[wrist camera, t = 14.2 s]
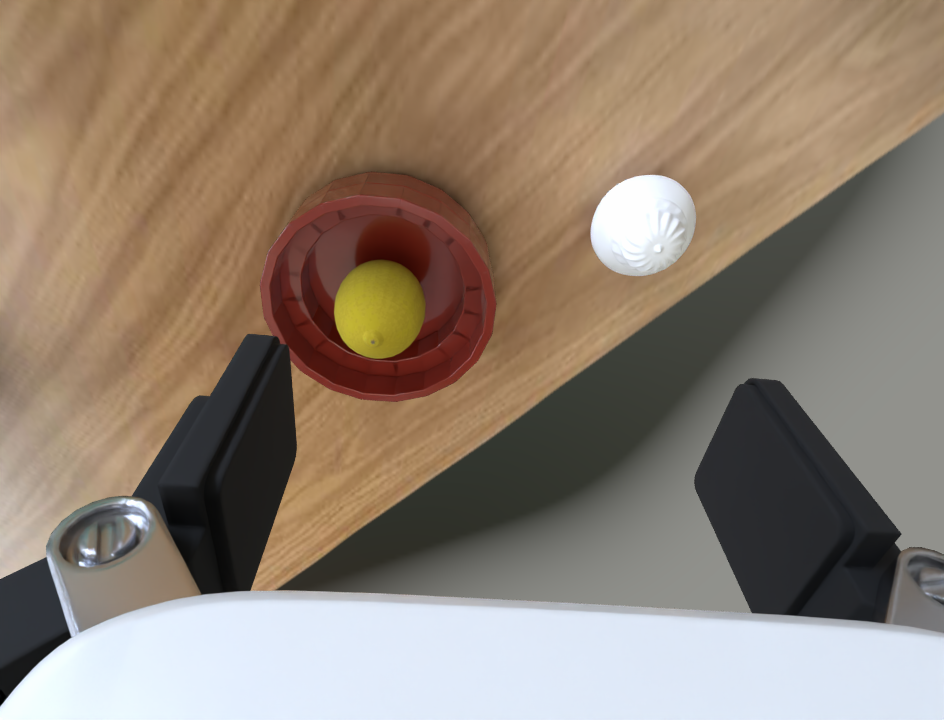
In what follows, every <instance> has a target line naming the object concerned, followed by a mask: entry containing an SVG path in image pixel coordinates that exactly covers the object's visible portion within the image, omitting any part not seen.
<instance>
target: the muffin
mask: <svg viewBox="0 0 944 720" xmlns="http://www.w3.org/2000/svg"><path fill="white" fill-rule="evenodd" d="M695 224H696V211H695V206H694V203H693V200H692V198H691V196H690V195H689V193H688V192H687V191H686V189H685V188H684V187H682V185H680V184H679V183H678V182H676V181H674V180H672V179H670V178H668V177H664V176H659V175H643V176H638V177H636V176H635V177H633V178H631V179H628V180H627V179H625V181H624V182H622V183H620V184H617V185H616V186H615V187H614V188H612V189H611V190H610V191H608V192H607V194H606V195H605V197H604V198H602V199H601V202H600V204H599V206H597V209H596V211H595V214H594V217H593V220H592V225H591V242H592V246H593V249H594V251H595V253H596V255H597V257H598V258H599V259H600V261H601V262H602V263H603V264H604V265H605V266H607V267H608V268H609V269H611V270H613V271H615V272H617V273H620V274H624V275H629V276H645V275H651V274H654V273H657V272H659V271H662V270H664V269H666V268H667V267H669V266H670V265H672V264H673V263H675V262H676V261H677V260H678V259H679V258H680V257H681V255H682V254H683V253H684V252H685V251H686V249H687V248H688V246H689V244H690V242H691V240H692V237H693V234H694V230H695Z"/></svg>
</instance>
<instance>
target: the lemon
mask: <svg viewBox="0 0 944 720" xmlns="http://www.w3.org/2000/svg"><path fill="white" fill-rule="evenodd" d="M425 304H426V303H425V298H424V293H423V289H422V287H421V285H420V283H419V281H418V280H417V278H416V277H415V276H414V275H413V274H412V272H411V271H410V270H409V269H407V268H406V267H404V266H403V265H401V264H399V263H396V262H393V261H389V260H372V261H369V262H366V263H363V264H361V265H359V266H358V267H356V268H355V269H353V270H352V271H351V272H350V273H349V274H348V275H347V276H346V278H345V279H344V280H343V281H342V283H341V285H340V287H339V290H338V292H337V295H336V298H335V308H334V316H335V322H336V326H337V330H338V332H339V334H340V336H341V338H342V340H343V341H344V342H345V343H346V344H347V346H348V347H349V348H351V349H352V350H354V351H355V352H356V353H358V354H360V355H363V356H365V357H369V358H374V359H383V358H388V357H392V356H395V355H397V354H399V353H401V352H402V351H404V350H405V349H406V348H407V347H409V346H410V345H411V344H412V342H413V341H414V340H415V338H416V337H417V335H418V334H419V332H420V330H421V327H422V324H423V321H424V318H425Z"/></svg>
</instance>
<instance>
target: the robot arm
mask: <svg viewBox="0 0 944 720" xmlns="http://www.w3.org/2000/svg"><path fill="white" fill-rule="evenodd" d="M296 450H297V441H296V428H295V415H294V402H293V389H292V376H291V363H290V351H289V346H288V345H287V344H280V340H279V338H278V337H277V336H268V335H256V334H247V335H246V337H245V338H244V340H243V342H242V343H241V345H240V347H239V348H238V350H237V352H236V353H235V355H234V357H233V358H232V360H231V362H230V363H229V365H228V367H227V368H226V370H225V372H224V373H223V375H222V377H221V378H220V380H219V382H218V383H217V385H216V387H215V388H214V390H213V392H212V393H211V395H210V396H200V395H199V396H197V397H195V398H194V399H193V401H192V402H191V403H190V405H189V406H188V408H187V409H186V411H185V413H184V414H183V416H182V417H181V419H180V420H179V422H178V424H177V425H176V427H175V428H174V430H173V432H172V433H171V435H170V436H169V438H168V439H167V441H166V443H165V444H164V446H163V447H162V449H161V451H160V452H159V454H158V455H157V457H156V458H155V460H154V462H153V463H152V465H151V466H150V468H149V470H148V471H147V473H146V474H145V476H144V477H143V479H142V481H141V482H140V484H139V485H138V487H137V489H136V490H135V492H134V493H133V495H132V496H118V497H109V498H105V499H102V500H98V501H95V502H92V503H90V504H88V505H86V506H84V507H82V508H80V509H78V510H76V511H74V512H73V513H72V514H70V515H69V516H68V517H66V518H65V519H64V520H62V521H61V523H60V524H59V525H58V526H57V527H56V529H55V530H54V531H53V532H52V533H51V536H50V538H49V541H48V543H47V545H46V555H47V557H46V558H44V559H42V560H39V561H37V562H35V563H33V564H31V565H29V566H27V567H25V568H23V569H21V570H19V571H16V572H14V573H12V574H10V575H8V576H6V577H4V578H2V579H0V720H944V554H942V553H939V552H937V551H934V550H930V549H926V548H922V547H909V548H907V549H905V550H903V551H900V550H899V548H898V547H897V546H896V544H895V541H896V540H897V539H898V538H899V537H900V535H901V533H900V531H898V529H897V528H896V526H895V525H894V524H893V523H892V521H891V520H890V519H889V518H888V516H887V515H886V514H885V513H884V511H883V510H882V509H881V507H880V506H879V505H878V504H877V502H876V501H875V500H874V499H873V497H872V496H871V495H870V494H869V492H868V491H867V490H866V488H865V487H864V486H863V485H862V484H861V482H860V481H859V480H858V478H857V477H856V476H855V475H854V473H853V472H852V471H851V470H850V468H849V467H848V466H847V464H846V463H845V462H844V461H843V459H842V458H841V457H840V456H839V454H838V453H837V452H836V451H835V449H834V448H833V447H832V446H831V444H830V443H829V442H828V440H827V439H826V438H825V437H824V435H823V434H822V433H821V432H820V430H819V429H818V428H817V426H816V425H815V424H814V423H813V421H812V420H811V419H810V418H809V416H808V415H807V414H806V413H805V411H804V410H803V409H802V408H801V406H800V405H799V404H798V403H797V401H796V400H795V399H794V398H793V396H792V395H791V394H790V392H789V391H788V390H787V389H786V387H785V386H784V385H783V384H782V383H781V382H780V381H777V380H767V379H756V378H751V379H748V380H747V381H746V382H745V383H744V384H740V385H739V386H738V387H737V388H736V389H735V391H734V393H733V396H732V398H731V400H730V402H729V404H728V406H727V408H726V410H725V412H724V415H723V417H722V419H721V421H720V423H719V425H718V427H717V429H716V432H715V434H714V436H713V438H712V440H711V442H710V444H709V446H708V448H707V451H706V453H705V455H704V457H703V459H702V461H701V463H700V465H699V467H698V470H697V472H696V475H695V480H694V481H695V482H694V484H695V489H696V492H697V494H698V496H699V498H700V501H701V503H702V505H703V507H704V509H705V511H706V513H707V516H708V518H709V520H710V522H711V524H712V527H713V529H714V531H715V533H716V535H717V538H718V540H719V542H720V544H721V546H722V549H723V551H724V553H725V555H726V557H727V560H728V562H729V564H730V566H731V568H732V570H733V572H734V575H735V577H736V579H737V581H738V584H739V586H740V588H741V590H742V592H743V594H744V596H745V599H746V601H747V603H748V605H749V608H750V609H751V612H752V613H739V612H723V611H705V610H689V609H672V608H654V607H636V606H618V605H600V604H581V603H562V602H542V601H524V600H505V599H484V598H483V599H482V598H463V597H461V598H460V597H441V596H421V595H400V594H380V593H350V592H349V593H347V592H317V591H250V590H251V587H252V585H253V582H254V579H255V576H256V573H257V570H258V567H259V564H260V561H261V558H262V555H263V552H264V549H265V546H266V544H267V541H268V538H269V535H270V532H271V529H272V526H273V523H274V520H275V517H276V514H277V511H278V508H279V505H280V503H281V500H282V497H283V494H284V491H285V488H286V485H287V482H288V479H289V476H290V473H291V470H292V467H293V465H294V461H295V457H296Z"/></svg>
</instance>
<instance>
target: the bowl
mask: <svg viewBox="0 0 944 720" xmlns="http://www.w3.org/2000/svg"><path fill="white" fill-rule="evenodd" d="M372 260H389V261H393V262H396V263H399V264H401V265H403V266H404V267H406V268H407V269H409V270H410V271H411V272H412V274H413V275H414V276H415V277H416V278H417V280H418V281H419V283H420V285H421V287H422V289H423V293H424V298H425V303H426V304H425V318H424V321H423V324H422V327H421V330H420V332H419V334H418V335H417V337H416V338H415V340H414V341H413V342H412V344H411V345H410V346H409V347H407V348H406V349H405V350H404V351H402V352H401V353H399V354H397V355H395V356H392V357H388V358H383V359H374V358H369V357H365V356H363V355H360V354H358V353H356V352H355V351H354V350H352V349H351V348H349V347H348V346H347V344H346V343H345V342H344V341H343V340H342V338H341V336H340V334H339V332H338V330H337V326H336V322H335V316H334V308H335V298H336V295H337V292H338V290H339V287H340V285H341V283H342V281H343V280H344V279H345V278H346V276H347V275H348V274H349V273H350V272H351V271H352V270H353V269H355V268H356V267H358V266H359V265H361V264H363V263H366V262H369V261H372ZM260 290H261V298H262V306H263V314H264V319H265V321H266V323H267V325H268V327H269V329H270V331H271V333H272V335H273V336H277V337H278V338H279V340H280V344H287V345H288V346H289V351H290V360H291V361H292V362H293V363H294V364H295V365H296V366H297V368H298V369H299V370H300V371H302V372H303V373H304V374H306V375H308V376H309V377H311V378H312V379H314V380H316V381H317V382H319V383H321V384H322V385H324V386H325V387H327V388H329V389H331V390H333V391H336V392H339V393H343V394H346V395H349V396H352V397H355V398H358V399H361V400H362V399H363V400H375V401H390V402H398V401H403V400H408V399H414V398H419V397H425V396H428V395H430V394H432V393H434V392H436V391H438V390H440V389H442V388H444V387H447V386H449V385H451V384H453V383H455V382H456V381H457V380H458V379H459V378H460V377H461V376H462V375H464V374H465V373H466V372H467V371H468V370H469V369H470V368H471V367H472V366H473V365H474V364H475V363H476V362H477V361H478V360H479V358H480V356H481V354H482V352H483V351H484V349H485V347H486V345H487V343H488V341H489V339H490V338H491V336H492V332H493V325H494V318H495V311H496V295H495V285H494V276H493V270H492V265H491V260H490V256H489V251H488V246H487V243H486V240H485V239H484V237H483V235H482V234H481V232H480V231H479V229H478V227H477V226H476V224H475V222H474V221H473V219H472V217H471V216H470V214H469V213H468V212H467V211H466V210H465V209H464V208H462V207H461V206H460V205H459V204H458V203H457V202H455V201H454V200H453V199H452V198H451V197H450V196H448V195H447V194H446V193H445V192H444V191H442V190H441V189H439V188H436V187H434V186H432V185H429V184H427V183H425V182H422V181H420V180H418V179H415V178H413V177H411V176H407V175H399V174H389V173H378V172H367V173H363V174H358V175H354V176H350V177H345V178H341V179H337V180H335V181H332V182H331V183H329V184H328V185H326V186H325V187H323V188H322V189H320V190H318V191H317V192H315V193H314V194H312V195H311V196H309V197H308V198H307V199H305V201H304V202H303V203H302V205H301V206H300V207H299V209H298V210H297V211H296V213H295V214H294V216H293V217H292V218H291V220H290V221H289V222H288V224H287V225H286V227H285V228H284V229H283V231H282V232H281V234H280V235H279V237H278V238H277V239H276V241H275V242H274V244H273V245H272V247H271V248H270V250H269V251H268V254H267V258H266V261H265V265H264V269H263V273H262V277H261V281H260Z"/></svg>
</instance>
